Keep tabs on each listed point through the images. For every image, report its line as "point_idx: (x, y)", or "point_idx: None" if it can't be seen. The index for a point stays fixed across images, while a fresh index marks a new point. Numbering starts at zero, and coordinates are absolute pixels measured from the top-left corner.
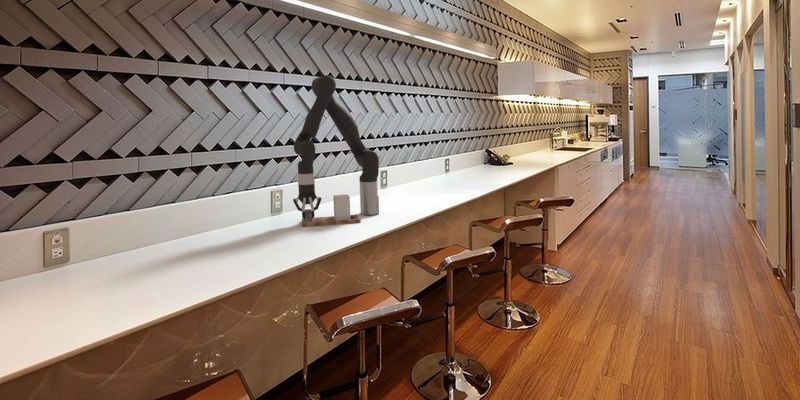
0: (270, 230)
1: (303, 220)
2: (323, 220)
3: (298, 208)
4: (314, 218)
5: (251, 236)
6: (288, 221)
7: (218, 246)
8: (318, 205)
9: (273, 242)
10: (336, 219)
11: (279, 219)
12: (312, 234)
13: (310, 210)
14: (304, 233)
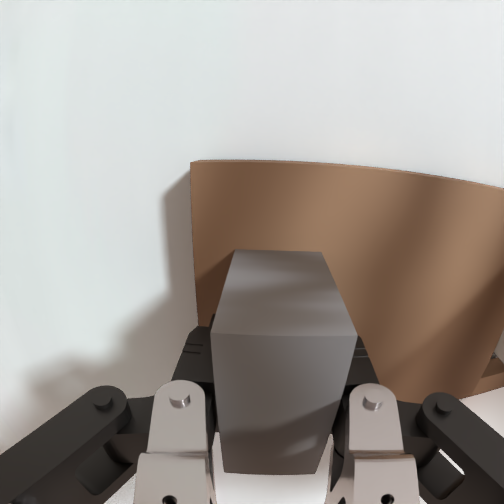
0: (28, 366)
1: (213, 298)
2: (416, 358)
3: (114, 465)
4: (364, 230)
5: (13, 413)
6: (67, 98)
7: (3, 443)
8: (447, 485)
9: (125, 499)
10: (498, 354)
11: (22, 14)
12: (265, 496)
13: (313, 441)
14: (227, 482)
